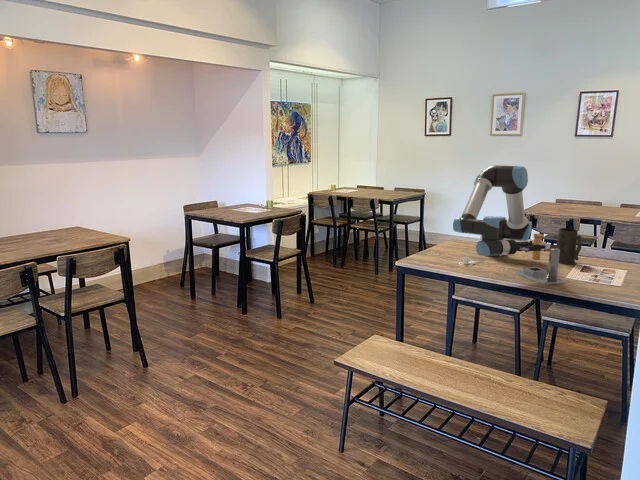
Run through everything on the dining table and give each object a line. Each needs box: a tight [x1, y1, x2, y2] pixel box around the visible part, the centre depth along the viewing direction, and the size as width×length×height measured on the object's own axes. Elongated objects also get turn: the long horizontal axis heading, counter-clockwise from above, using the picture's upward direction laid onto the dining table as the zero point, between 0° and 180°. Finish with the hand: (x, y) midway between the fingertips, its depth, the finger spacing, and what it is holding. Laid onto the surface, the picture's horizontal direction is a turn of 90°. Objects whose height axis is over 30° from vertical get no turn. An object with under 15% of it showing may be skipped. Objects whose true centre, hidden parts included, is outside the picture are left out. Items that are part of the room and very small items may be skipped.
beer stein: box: [555, 227, 583, 265], centre depth 266 cm, size 15×10×20 cm
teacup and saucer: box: [457, 256, 476, 267], centre depth 265 cm, size 9×8×4 cm
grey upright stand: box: [514, 247, 565, 286], centre depth 237 cm, size 23×12×17 cm, turn 13°
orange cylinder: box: [531, 233, 544, 261], centre depth 238 cm, size 4×4×13 cm
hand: (546, 245), depth 239 cm, fingers closed on orange cylinder, 4 cm apart
